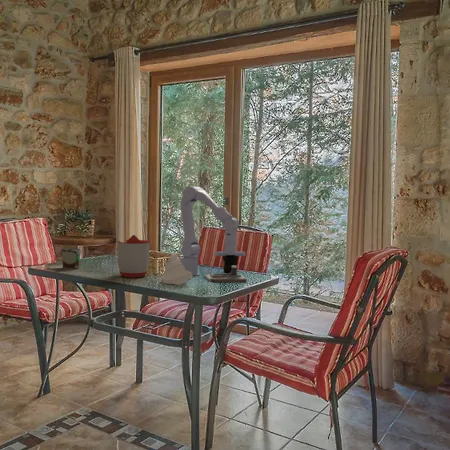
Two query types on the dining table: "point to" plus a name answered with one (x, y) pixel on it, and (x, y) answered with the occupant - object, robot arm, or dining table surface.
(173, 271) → the beige faceted rock
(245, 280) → the grey square tray
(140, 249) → the citrus juicer
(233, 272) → the breaker lever
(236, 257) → the coffee mug
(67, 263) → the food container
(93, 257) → the dining table surface
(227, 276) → the grey flat slab
